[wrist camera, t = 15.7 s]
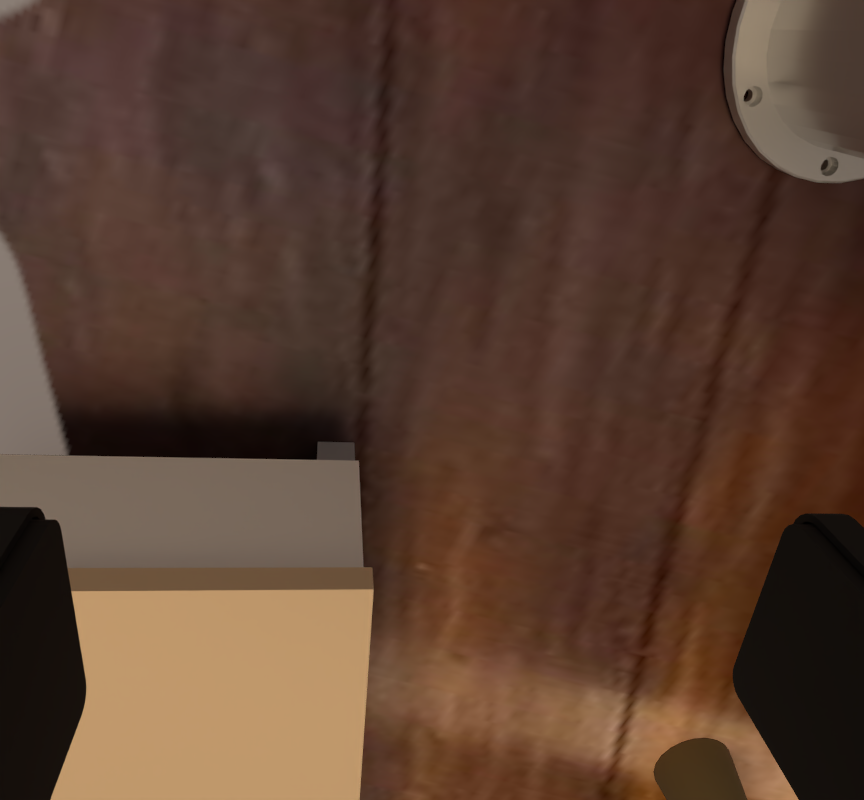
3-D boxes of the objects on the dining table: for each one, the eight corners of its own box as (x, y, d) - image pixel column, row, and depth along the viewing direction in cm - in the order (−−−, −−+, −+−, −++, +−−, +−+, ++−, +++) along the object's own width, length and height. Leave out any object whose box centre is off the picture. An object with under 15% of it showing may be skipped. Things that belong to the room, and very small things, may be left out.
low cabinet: (-11, 386, 37) (-209, 592, 24) (362, 397, 40) (373, 589, 26) (38, 635, 45) (-92, 900, 31) (350, 631, 47) (354, 874, 34)
